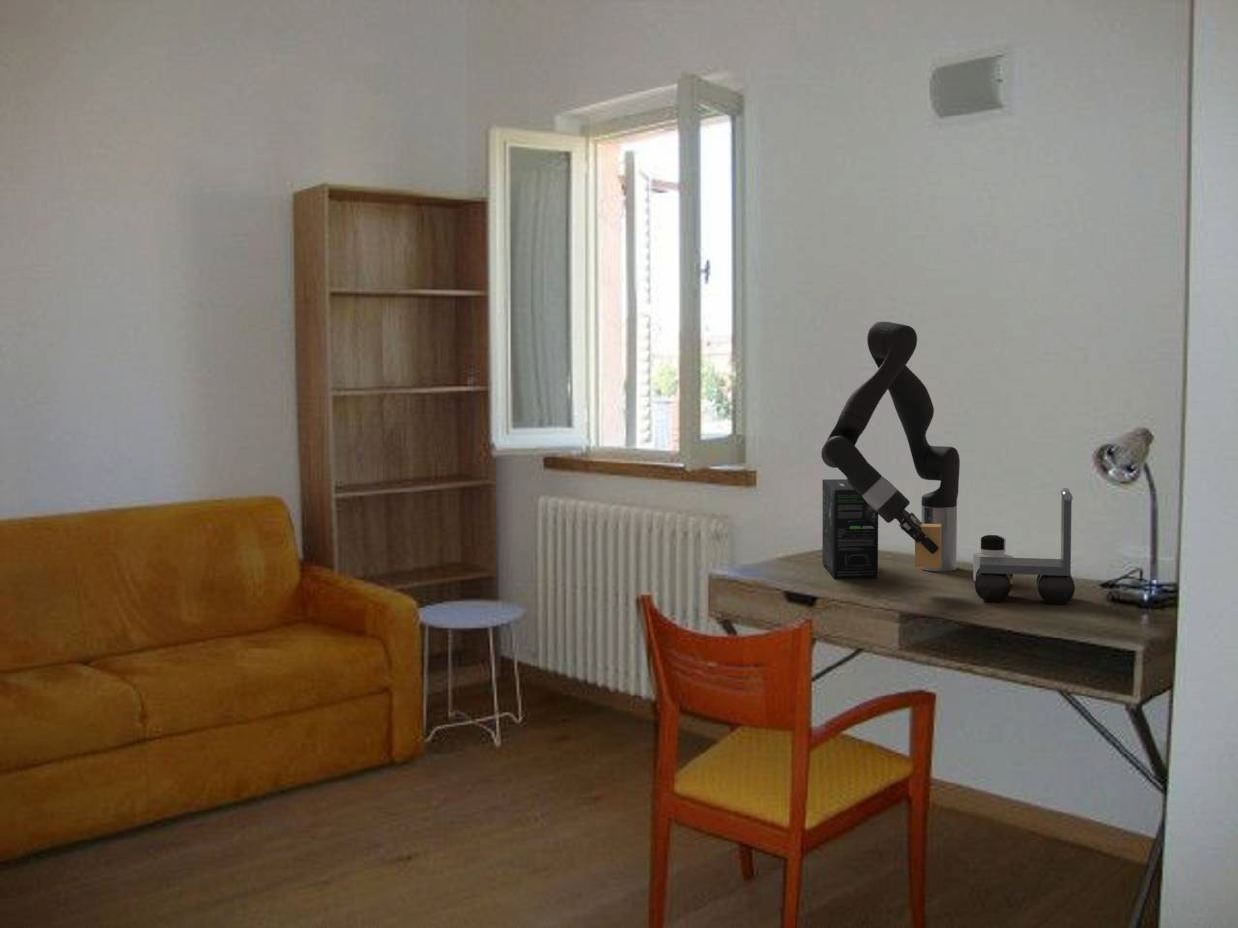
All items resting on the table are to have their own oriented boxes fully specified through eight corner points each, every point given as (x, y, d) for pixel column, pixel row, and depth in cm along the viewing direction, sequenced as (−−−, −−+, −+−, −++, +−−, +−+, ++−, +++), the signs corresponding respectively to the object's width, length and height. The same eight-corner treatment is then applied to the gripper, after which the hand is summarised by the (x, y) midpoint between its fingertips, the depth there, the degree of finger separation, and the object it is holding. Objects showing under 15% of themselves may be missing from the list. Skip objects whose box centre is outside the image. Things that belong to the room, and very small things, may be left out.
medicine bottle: (988, 586, 307) (988, 538, 306) (972, 581, 314) (973, 534, 313) (1013, 584, 309) (1013, 536, 308) (997, 579, 316) (997, 533, 315)
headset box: (879, 578, 320) (879, 480, 317) (833, 579, 320) (833, 481, 318) (864, 564, 342) (864, 471, 340) (821, 564, 342) (820, 472, 340)
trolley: (975, 592, 299) (976, 486, 297) (1071, 596, 293) (1073, 487, 290) (974, 602, 288) (975, 492, 285) (1074, 606, 281) (1076, 493, 279)
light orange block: (916, 563, 302) (916, 523, 301) (941, 564, 300) (941, 524, 299) (914, 567, 297) (914, 526, 296) (940, 568, 296) (940, 526, 294)
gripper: (894, 492, 292) (946, 543, 290) (898, 485, 306) (949, 534, 303) (871, 514, 294) (923, 565, 292) (877, 505, 308) (927, 554, 305)
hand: (936, 549), depth 298 cm, fingers closed on light orange block, 4 cm apart
